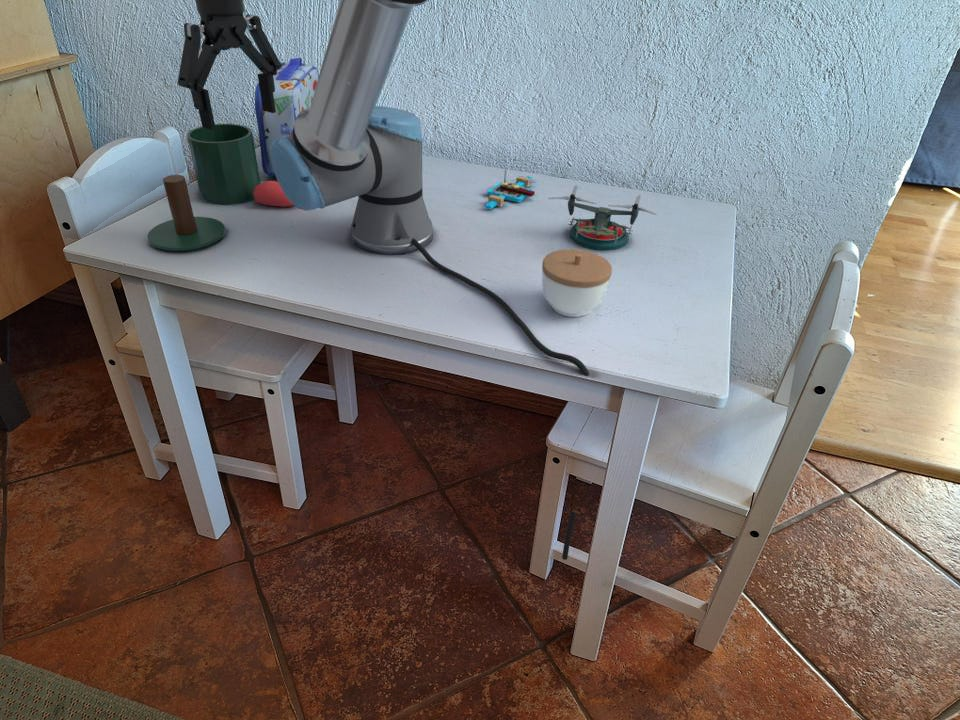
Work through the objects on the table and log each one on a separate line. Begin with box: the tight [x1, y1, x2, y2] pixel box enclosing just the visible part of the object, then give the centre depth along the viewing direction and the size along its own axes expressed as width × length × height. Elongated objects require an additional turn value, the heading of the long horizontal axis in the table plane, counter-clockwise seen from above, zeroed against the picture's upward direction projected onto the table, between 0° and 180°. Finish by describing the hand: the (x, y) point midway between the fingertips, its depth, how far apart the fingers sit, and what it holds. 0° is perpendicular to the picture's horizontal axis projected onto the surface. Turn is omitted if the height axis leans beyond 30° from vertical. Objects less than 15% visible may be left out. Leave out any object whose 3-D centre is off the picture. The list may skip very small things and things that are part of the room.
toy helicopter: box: [547, 185, 658, 251], centre depth 123 cm, size 20×15×8 cm
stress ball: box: [253, 180, 295, 208], centre depth 132 cm, size 5×9×6 cm, turn 71°
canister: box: [186, 123, 262, 205], centre depth 134 cm, size 12×12×12 cm
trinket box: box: [541, 248, 613, 318], centre depth 103 cm, size 11×11×9 cm
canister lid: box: [147, 174, 226, 252], centre depth 117 cm, size 13×13×11 cm
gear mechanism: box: [485, 168, 536, 210], centre depth 140 cm, size 20×5×9 cm
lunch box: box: [254, 57, 319, 177], centre depth 146 cm, size 28×10×22 cm, turn 1°
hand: (240, 119), depth 119 cm, fingers open, 13 cm apart
